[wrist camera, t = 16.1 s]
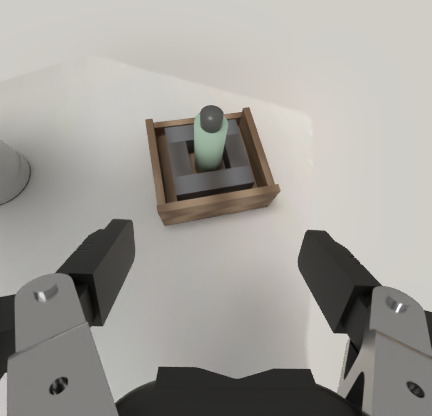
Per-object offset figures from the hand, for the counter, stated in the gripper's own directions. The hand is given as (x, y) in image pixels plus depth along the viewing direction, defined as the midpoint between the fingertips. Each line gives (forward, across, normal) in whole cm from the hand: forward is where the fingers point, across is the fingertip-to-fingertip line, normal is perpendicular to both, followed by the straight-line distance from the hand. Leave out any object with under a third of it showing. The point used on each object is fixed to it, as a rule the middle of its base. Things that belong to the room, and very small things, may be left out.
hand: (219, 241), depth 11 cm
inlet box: (+27, 0, +4) cm, 27 cm away
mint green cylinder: (+26, 0, +3) cm, 27 cm away
